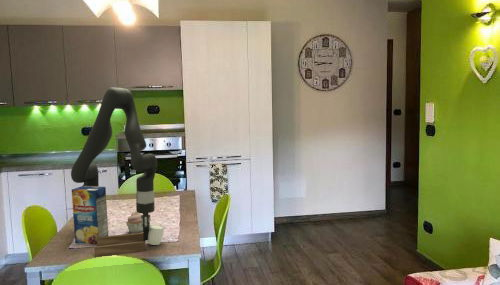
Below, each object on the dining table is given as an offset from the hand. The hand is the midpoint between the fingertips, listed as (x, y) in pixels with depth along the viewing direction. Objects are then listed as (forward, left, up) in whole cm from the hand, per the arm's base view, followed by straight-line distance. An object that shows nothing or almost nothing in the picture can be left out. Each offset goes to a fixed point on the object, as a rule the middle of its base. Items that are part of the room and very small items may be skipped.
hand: (146, 239), depth 171 cm
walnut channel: (0, -10, -2) cm, 11 cm away
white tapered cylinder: (0, +3, -2) cm, 4 cm away
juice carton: (-13, -23, -2) cm, 27 cm away
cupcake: (-20, -4, -2) cm, 21 cm away
